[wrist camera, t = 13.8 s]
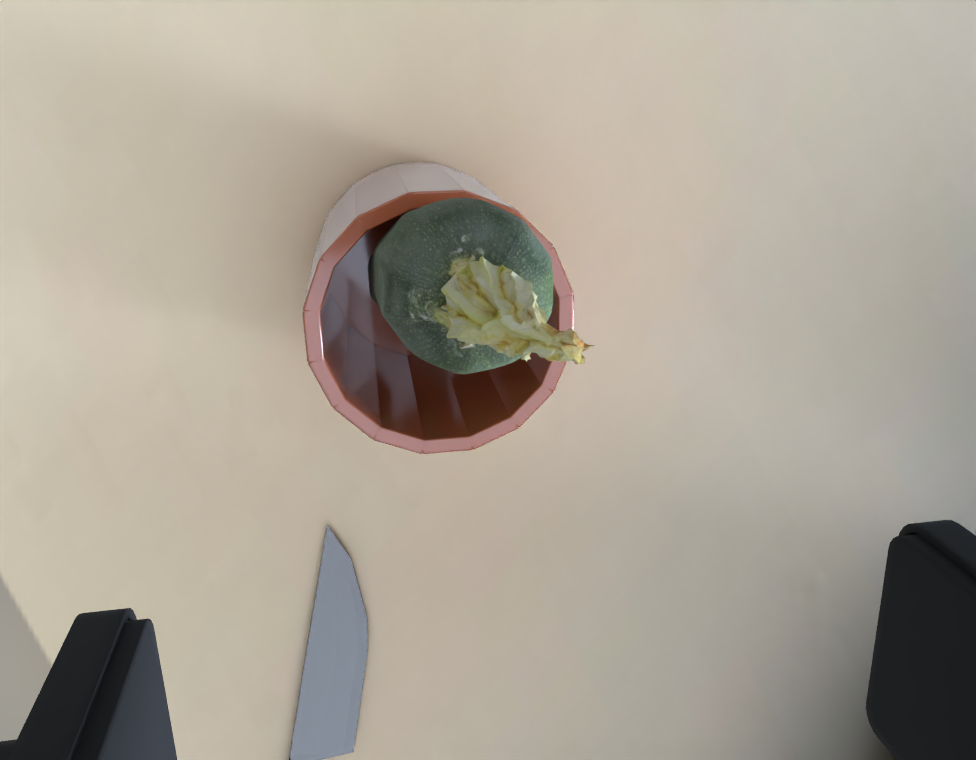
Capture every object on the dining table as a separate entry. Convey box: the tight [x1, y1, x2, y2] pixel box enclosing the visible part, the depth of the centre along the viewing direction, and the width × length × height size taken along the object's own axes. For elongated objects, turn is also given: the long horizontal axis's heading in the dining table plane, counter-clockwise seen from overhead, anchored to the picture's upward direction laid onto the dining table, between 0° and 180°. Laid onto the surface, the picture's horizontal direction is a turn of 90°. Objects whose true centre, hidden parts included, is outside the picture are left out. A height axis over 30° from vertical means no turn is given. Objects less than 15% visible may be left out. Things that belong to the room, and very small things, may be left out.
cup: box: [303, 162, 574, 454], centre depth 31 cm, size 8×8×10 cm
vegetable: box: [368, 198, 595, 374], centre depth 25 cm, size 4×4×20 cm
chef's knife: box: [289, 525, 368, 760], centre depth 41 cm, size 19×1×3 cm
